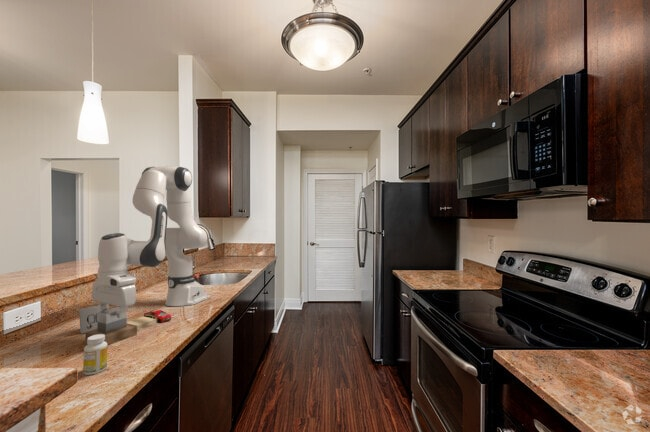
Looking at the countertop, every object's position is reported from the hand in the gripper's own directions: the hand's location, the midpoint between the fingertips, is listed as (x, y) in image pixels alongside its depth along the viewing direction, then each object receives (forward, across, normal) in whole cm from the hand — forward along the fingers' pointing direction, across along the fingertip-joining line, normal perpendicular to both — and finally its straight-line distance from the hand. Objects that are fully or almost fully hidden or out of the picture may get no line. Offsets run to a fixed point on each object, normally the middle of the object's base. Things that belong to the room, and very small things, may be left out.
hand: (112, 315), depth 105 cm
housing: (+5, 0, 0) cm, 5 cm away
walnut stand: (+8, 0, 0) cm, 8 cm away
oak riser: (+8, -2, +12) cm, 14 cm away
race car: (+9, -3, +20) cm, 22 cm away
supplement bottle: (+8, +20, -16) cm, 27 cm away
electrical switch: (+8, -15, +2) cm, 17 cm away
